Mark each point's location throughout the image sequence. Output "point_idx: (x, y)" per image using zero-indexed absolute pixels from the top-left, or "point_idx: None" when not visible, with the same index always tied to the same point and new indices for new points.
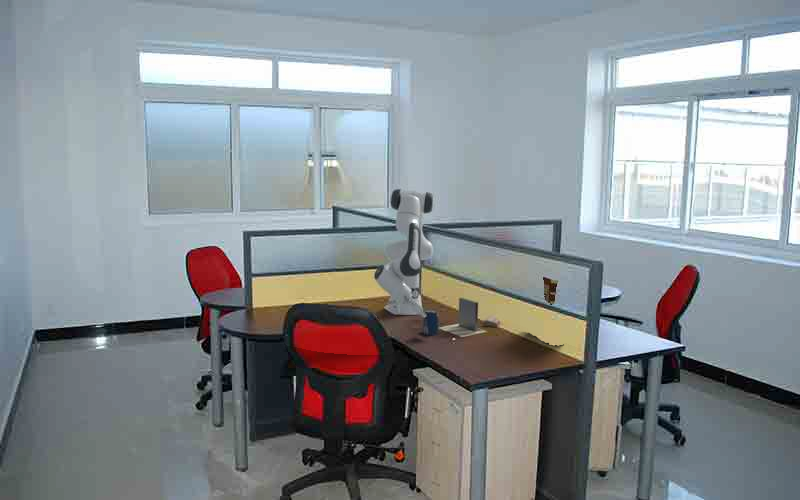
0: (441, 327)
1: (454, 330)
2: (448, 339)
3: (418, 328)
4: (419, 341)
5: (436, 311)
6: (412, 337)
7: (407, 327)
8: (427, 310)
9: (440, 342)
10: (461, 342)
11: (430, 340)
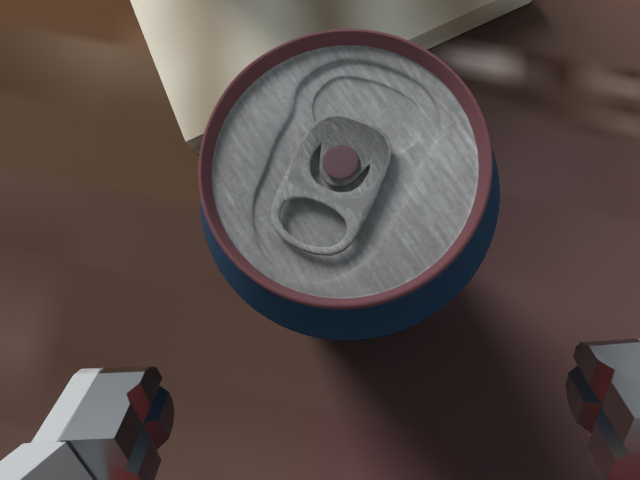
0: (181, 102)
1: (308, 4)
2: (495, 111)
3: (72, 320)
4: (544, 424)
5: (338, 46)
6: (380, 468)
7: (7, 429)
8: (221, 220)
9: (596, 208)
10: (606, 17)
11: (515, 294)
